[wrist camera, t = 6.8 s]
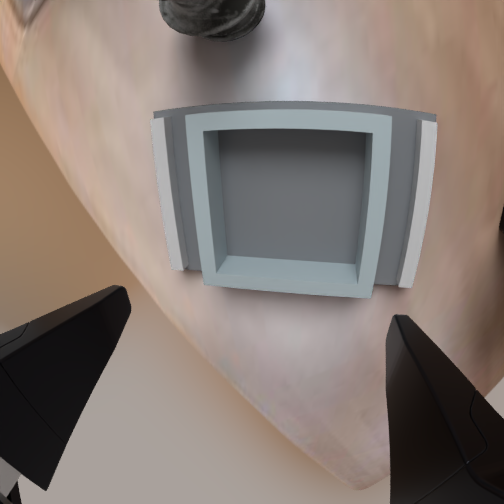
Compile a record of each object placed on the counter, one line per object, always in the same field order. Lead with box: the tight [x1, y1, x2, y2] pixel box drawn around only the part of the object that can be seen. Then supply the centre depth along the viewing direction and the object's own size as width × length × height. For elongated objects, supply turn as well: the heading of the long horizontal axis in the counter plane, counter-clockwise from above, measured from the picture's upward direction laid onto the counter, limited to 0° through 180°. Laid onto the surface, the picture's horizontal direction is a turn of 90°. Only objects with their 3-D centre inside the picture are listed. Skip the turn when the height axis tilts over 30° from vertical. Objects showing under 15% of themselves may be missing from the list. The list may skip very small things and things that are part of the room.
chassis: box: [150, 101, 437, 298], centre depth 18 cm, size 18×12×4 cm, turn 92°
